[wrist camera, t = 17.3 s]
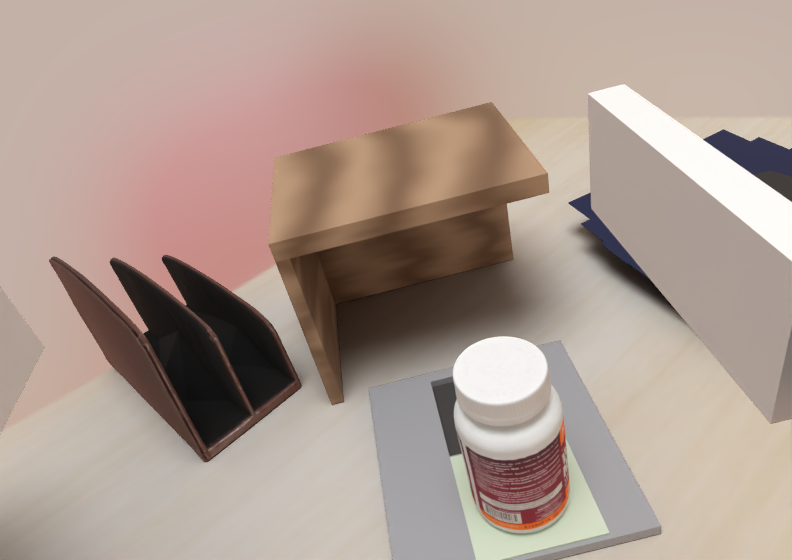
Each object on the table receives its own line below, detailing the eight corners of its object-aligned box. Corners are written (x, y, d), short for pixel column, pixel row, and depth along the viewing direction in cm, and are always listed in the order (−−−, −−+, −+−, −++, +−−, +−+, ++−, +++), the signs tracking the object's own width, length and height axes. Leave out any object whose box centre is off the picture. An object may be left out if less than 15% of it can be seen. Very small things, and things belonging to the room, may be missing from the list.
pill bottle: (590, 508, 38) (584, 378, 31) (503, 555, 37) (477, 430, 30) (535, 439, 43) (519, 314, 36) (456, 479, 42) (425, 357, 35)
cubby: (331, 404, 51) (268, 244, 42) (325, 300, 63) (274, 157, 54) (560, 347, 51) (547, 173, 41) (510, 253, 63) (491, 102, 53)
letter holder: (207, 466, 49) (124, 332, 41) (110, 366, 62) (34, 250, 54) (304, 387, 54) (248, 254, 45) (196, 310, 67) (137, 196, 59)
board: (399, 598, 37) (395, 589, 36) (370, 395, 51) (368, 386, 50) (660, 533, 37) (661, 524, 36) (560, 347, 51) (559, 338, 50)
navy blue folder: (731, 145, 68) (738, 115, 66) (1062, 300, 47) (1090, 264, 45) (551, 232, 62) (552, 202, 60) (839, 454, 41) (858, 423, 39)
